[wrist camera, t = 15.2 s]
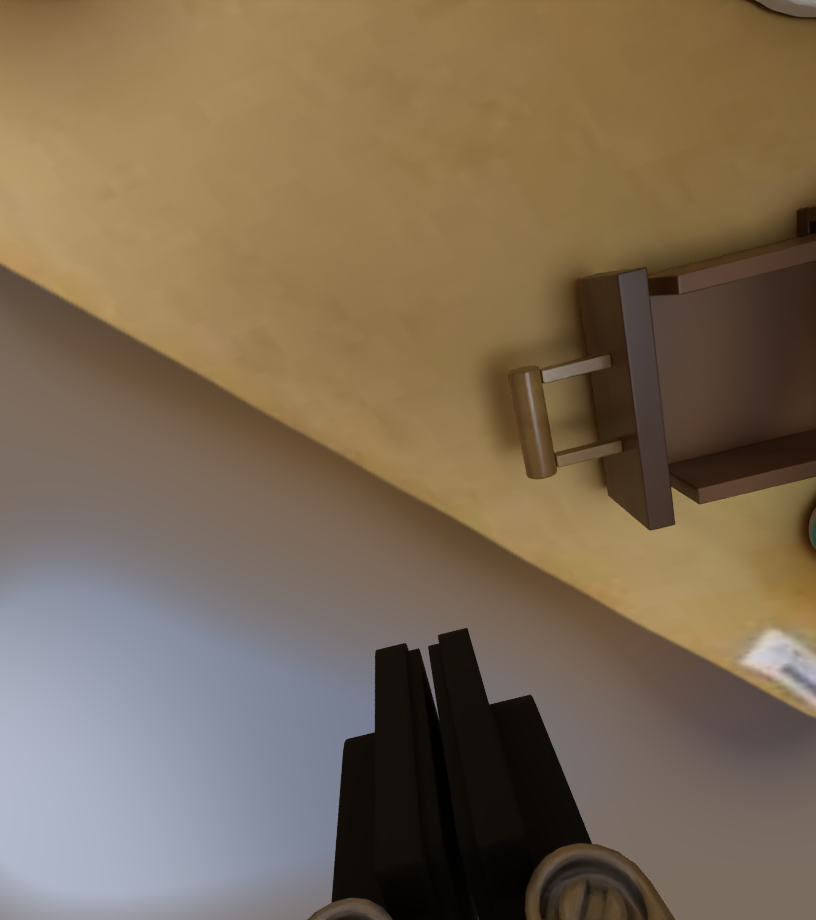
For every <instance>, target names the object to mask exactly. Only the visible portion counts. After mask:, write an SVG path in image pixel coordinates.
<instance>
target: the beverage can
mask: <svg viewBox="0 0 816 920" xmlns="http://www.w3.org/2000/svg"><path fill="white" fill-rule="evenodd" d="M809 537H810V541H811V543H812V545H813V547H814V548H815V550H816V507H815V509H814V510H813V512H812V515H811V517H810V521H809Z"/></svg>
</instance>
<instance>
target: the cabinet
mask: <svg viewBox="0 0 816 920" xmlns="http://www.w3.org/2000/svg"><path fill="white" fill-rule="evenodd" d="M797 212H798V237H802V236H806V235H810V234H814V233H816V205H814V206H810V207H806V208H802V209H799V210H798V211H797Z"/></svg>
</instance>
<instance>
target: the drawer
mask: <svg viewBox="0 0 816 920" xmlns="http://www.w3.org/2000/svg"><path fill="white" fill-rule="evenodd" d="M577 285H578V292H579V299H580V305H581V312H582V319H583V326H584V333H585V340H586V346H587V353H588V357H585V358H581V359H577V360H573V361H569V362H565V363H561V364H557V365H553V366H549V367H545V368H541V369H540V368H539V366H526V367H521V368H517V369H514V370H511V371H510V372H508V379H509V384H510V389H511V395H512V400H513V405H514V411H515V416H516V421H517V426H518V432H519V437H520V442H521V448H522V453H523V458H524V464H525V469H526V474H527V476H528V478H531V479H543V478H548V477H551V476H553V475H554V474H556V472H557V467H563V466H567V465H571V464H575V463H579V462H583V461H587V460H591V459H596V458H600V457H603V463H604V470H605V476H606V483H607V490H608V496H609V497H611V498H612V499H613V500H614V501H615V502H616V503H618V504H619V505H620V506H621V507H622V508H624V509H625V510H626V511H627V512H628V513H629V514H631V515H632V516H633V517H634V518H635V519H636V520H638V521H639V522H640V523H641V524H642V525H644V526H645V527H646V528H647V529H648V530H655V529H659V528H663V527H667V526H671V525H675V519H674V510H673V501H672V492H671V487H673V488H674V489H676V490H677V491H679V492H681V493H682V494H684V495H685V496H687V497H688V498H690V499H692V500H693V501H695V502H696V503H698V504H704V503H708V502H712V501H716V500H720V499H725V498H729V497H733V496H737V495H741V494H745V493H749V492H754V491H758V490H762V489H766V488H770V487H774V486H779V485H783V484H787V483H791V482H795V481H799V480H803V479H808V478H812V477H816V233H814V234H810V235H806V236H802V237H798V238H794V239H790V240H786V241H782V242H778V243H774V244H770V245H766V246H762V247H758V248H754V249H750V250H746V251H742V252H738V253H734V254H730V255H726V256H722V257H718V258H714V259H710V260H706V261H702V262H698V263H694V264H690V265H686V266H682V267H678V268H674V269H670V270H666V271H662V272H658V273H654V274H650V275H647V268H646V267H642V268H634V269H627V270H620V271H612V272H605V273H599V274H595V275H591V276H587V277H583V278H579V279H577ZM589 372H590V374H591V381H592V387H593V394H594V401H595V408H596V415H597V422H598V428H599V435H600V442H596V443H592V444H588V445H583V446H579V447H575V448H571V449H567V450H563V451H559V452H555V453H554V449H553V444H552V438H551V432H550V426H549V420H548V415H547V409H546V403H545V397H544V391H543V385H542V383H544V384H545V383H549V382H553V381H557V380H561V379H565V378H569V377H573V376H577V375H581V374H585V373H589ZM556 466H557V467H556Z"/></svg>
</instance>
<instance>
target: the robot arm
mask: <svg viewBox="0 0 816 920" xmlns="http://www.w3.org/2000/svg"><path fill="white" fill-rule="evenodd" d="M755 1H757V2H759V3H761V4H762V5H764V6H766V7H768V8H770V9H771V10H774V11H778V12H782V13H785V14H789V15H793V16H796V17H816V0H755ZM438 639H439V644H435V645H431V646H428V649H429V655H430V662H431V669H432V675H433V682H434V688H435V695H436V702H437V708H438V715H439V718H438V715H437V711H436V708H435V704H434V700H433V697H432V693H431V689H430V685H429V682H428V678H427V675H426V671H425V667H424V663H423V660H422V656H421V653H420V650H419V649H415V650H410V651H409V650H408V648H407V645H406V643H403V644H399V645H396V646H391V647H387V648H383V649H379V650H376V653H375V733H371V734H367V735H362V736H358V737H354V738H350V739H347V740H346V741H345V743H344V749H343V760H342V774H341V787H340V799H339V813H338V826H337V838H336V852H335V865H334V879H333V892H332V903H330V904H329V905H327V906H325V907H323V908H322V909H320V910H318V911H317V912H315V913H314V914H313V915H312V916H311V917H310V918H309V919H308V920H478V919H479V920H675V919H674V917H673V915H672V914H671V912H670V911H669V909H668V908H667V906H666V905H665V903H664V901H663V900H662V898H661V897H660V895H659V894H658V892H657V891H656V889H655V888H654V886H653V884H652V883H651V881H650V880H649V879H648V878H647V877H646V876H645V874H644V873H643V872H642V871H641V870H640V869H639V867H638V866H637V865H636V864H635V863H633V862H632V861H630V860H629V859H628V858H626V857H625V856H623V855H622V854H621V853H619V852H618V851H615V850H612V849H609V848H606V847H604V846H601V845H598V844H592V843H591V840H590V838H589V835H588V833H587V830H586V828H585V825H584V823H583V820H582V818H581V816H580V813H579V810H578V808H577V805H576V803H575V800H574V798H573V795H572V793H571V790H570V788H569V786H568V783H567V781H566V778H565V776H564V773H563V771H562V768H561V766H560V763H559V761H558V758H557V756H556V753H555V751H554V748H553V746H552V743H551V741H550V738H549V736H548V733H547V731H546V728H545V726H544V723H543V721H542V718H541V716H540V713H539V711H538V708H537V706H536V704H535V702H534V699H533V697H532V696H531V695H527V696H523V697H519V698H515V699H511V700H506V701H502V702H498V703H494V704H490V705H489V703H488V699H487V696H486V692H485V689H484V685H483V682H482V678H481V674H480V671H479V667H478V664H477V661H476V657H475V654H474V650H473V646H472V643H471V640H470V636H469V632H468V629H467V628H465V629H460V630H456V631H452V632H449V633H445V634H440V635H438ZM439 721H440V722H439Z"/></svg>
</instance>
